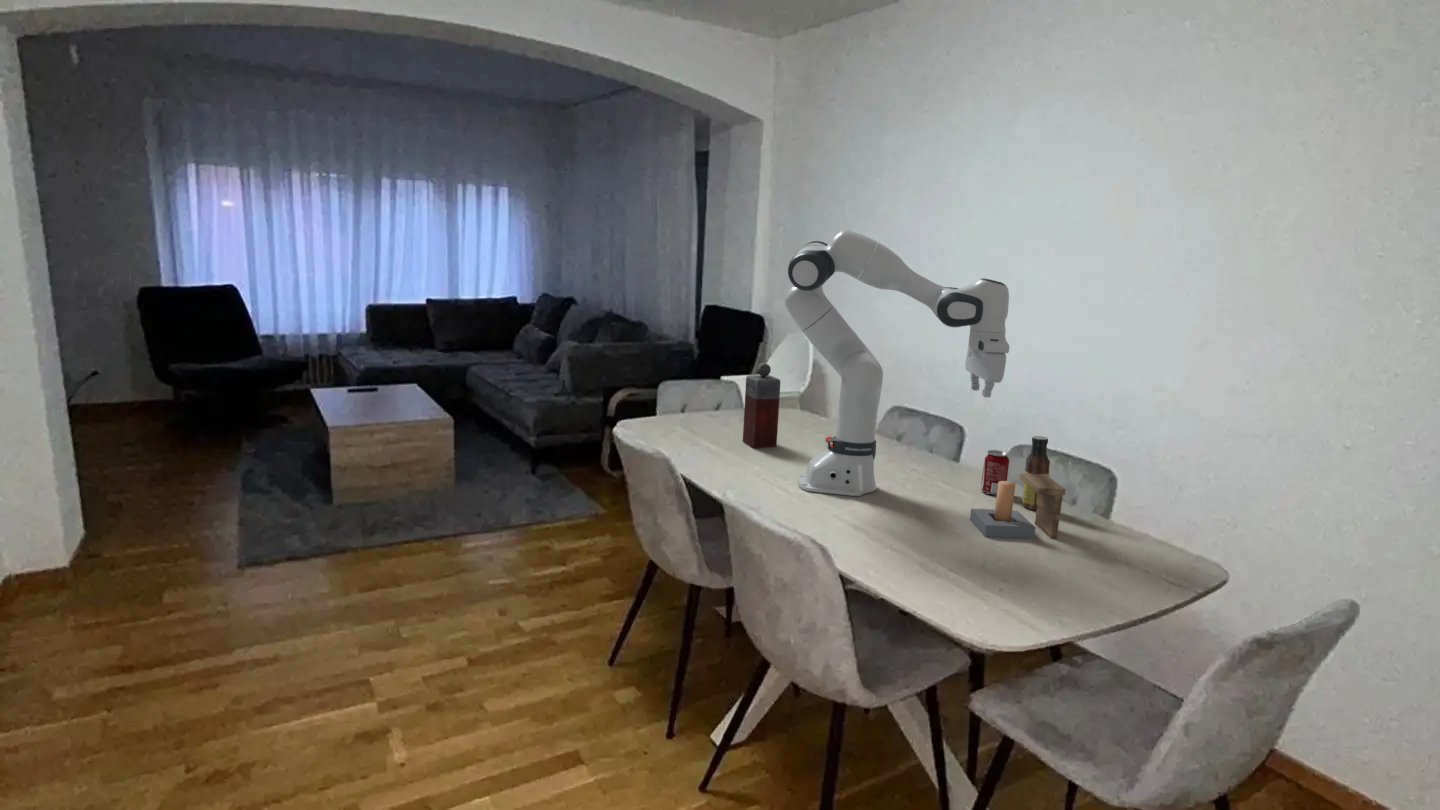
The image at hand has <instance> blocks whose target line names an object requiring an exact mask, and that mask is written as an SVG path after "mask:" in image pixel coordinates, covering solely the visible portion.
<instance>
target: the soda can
mask: <svg viewBox="0 0 1440 810" xmlns="http://www.w3.org/2000/svg"><path fill="white" fill-rule="evenodd" d="M1008 454H1009V453H1008V452H1006V451H1002V450H997V449H990V450H987V454H985V456H984V459H983V465H982V468H983V469H982V476H981V484H980V491H982V492H986V493H987V494H986V493H985V494H986V495H989V494H991V495H990V496H997V490H998V482H999V481H1008V475H1009V474H1008V473H1009V468H1010V467H1009V466H1010V459H1009V457H1008Z"/></svg>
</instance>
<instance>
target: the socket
mask: <svg viewBox="0 0 1440 810" xmlns="http://www.w3.org/2000/svg"><path fill="white" fill-rule="evenodd" d="M994 514H995V509H988V508H987V509H986V508H985V509H984V508H970V516H969V521H971V523H972V524H973V525H974V526H975V527H976V528H977V530H978V531H979V532H980V533H981V534H982V535H983V536H984V537H985V538H1002V539H1003V538H1004V539H1005V538H1007V539H1023V540H1024V539H1026V540H1030V539H1031V540H1034V539H1035V532H1036V525H1035V526H1034V525H1033V524H1032V523H1031V522H1030V520H1028V519H1027V518H1026V517H1025V516H1024V514H1022V513H1020V511H1018V510H1013V509H1012V515H1011V522H1004V521H994Z"/></svg>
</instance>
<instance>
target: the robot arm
mask: <svg viewBox="0 0 1440 810" xmlns="http://www.w3.org/2000/svg"><path fill="white" fill-rule="evenodd" d="M837 272H839V273H844V274H846V275H848V276H851V277H852V278H854V279H855V280H858V281H859V282H861V283H863V284H864V285H868V286H870V287H873V288H876V289H879V290H884V291H885V290H890V291H894V292H895V291H896V292H899V293H902V294H905V295H907V296H908V297H909V298H910V297H911V298H912V299H914V300H916V301H918V302H919V303H921V304H923V305H925V306H926V307H928V308H929V309H930V310H931V311H932V313H933V315H935V316H936V318H937V319H938V320H939V322H941V323H942V324H943V325H944V326H947V327H948V328H954V329H955V328H961V327H968V326H970V328H969V336H968V346H967V347H968V348H967V351H966V352H967V353H966V357H965V358H966V359H965V365H964V366H965V370H966V371H967V372H969V373H970V382H971V385H970V389H971V390H972V391H976V392H977V391H978V392H979V390H980V379H982V380H984V387H983V389H982V393H981V395H982V397H984V398H991V397H992V391H993V388H994V387H995V383H997V384H998V383H999V384H1000V383H1002V380H1003V378H1004V376H1005V372H1006V371H1005V369H1006V364H1007V354H1008V353H1009V352H1010V345H1009V343H1008V341H1007V340H1006V320H1007V318H1008V314H1009V305H1010V303H1009V302H1010V293H1009V288H1008V286H1007V285H1006V284H1005V283H1004V282H1001V281H997V280H993V279H989V278H985V277H984V278H983V277H982V278H980V279H978V280H977V281H974V282H973V283H970V284H969V285H966V286H963V287H960V288H958V287H952V286H951V287H947V286H942V285H939V284H937V283H935V282H933V281H932V280H929V279H928V278H925V277H924V276H922V275H920V274H919V273H917V272H915V271H914V270H912V269H911V268H910V267H909V266H908V265H907V264H906V263H905V261H904V260H903V259H902V258H901V257H900V256H899V255H898V254H897V253H896V252H894V251H893V250H891V249H890V248H889V247H887V246H886V245H884V244H882V243H880V242H878V241H877V240H875V239H873V238H870V237H869V236H866V235H863V234H862V233H858V232H855V231H852V230H848V229H844V230H841V231H839V232H838V233H836V234H835V235H834V236H833V237H832V238H831V240H830V242H829V243H826V242H824V241H819V240H817V241H816V240H813V241H810V242H808V243H806V244H804V245H803V246H802V247H800V248H799V249H798V250H797V251H796V252H795V254H794V255H793V257H792V258H791V259H790V261H789V264H788V266H787V276H788V279H789V281H790V283H791V284H792V285H793V286H792V287H791V288H789V290H788V291H787V292H786V294H785V298H784V305H785V307H786V309H787V311H788V313H789V314H790V316H791V318H792V319H793V321H794V323H795V324H796V325H797V326H798V328H799V330H801V332H802V333H803V334H804V335H805V337H806V338H807V339H808V340H809V342H810V343H811V344H812V345H813V346H814V347H815V349H816V350H817V351H818V353H819V355H820V354H821V356H822V357H823V358H824V359H825V360H826V362H827V363H828V364H829V365H830V366H831V367H832V368H833V370H835V372H836V373H837V374H838V376H839V377H840V379H841V383H840V392H839V400H838V408H837V415H836V416H837V417H836V430H835V435H834V436H833V437H832V436H831V435H826V436H825V437H824V439H825V440H824V441H825V442H826V444H827V449H825V450H824V451H822V452H821V453H819V454H818V455H816V456H814V457H813V458H811V460H810V461H809V462H808V463H807V467H806V471H805V473H802V474H800V475H799V476H798V477H797V484H798V486H799V487H800V488H801V489H802V490H804V491H806V492H813V493H822V494H830V495H831V494H833V495H843V496H851V497H860V496H863V495H864V494H868V493H872V492H875V491H876V490H877V485H876V479H875V469H874V468H875V463H874V462H875V461H874V460H875V458H876V452H877V440H876V432H877V431H876V430H877V419H878V412H879V405H880V401H881V394H882V388H883V381H884V380H883V379H884V372H883V371H884V370H883V367H882V366H881V364H880V362H879V361H878V360H877V358H876V356H875V355H874V354H873V353H872V351H870V349H869V348H868V347H867V345H866V344H865V343H864V342H863V340H862V339H861V338H860V337H859V336H858V334H857V333H856V332H855V331H854V329H853V328H852V327H851V326H850V325H849V324H848V322H847V321H846V320H845V318H844V317H843V316H842V315H841V314H840V312H839V311H838V310H837V308H836V307H835V306H834V305H833V303H832V302H831V301H830V300H829V299H828V298H827V296H826V295H825V293H824V289H823V285H825V283H826V282H827V281H828V280H829V279H830V278H831V277H832V276H833V275H834V274H835V273H837Z"/></svg>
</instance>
